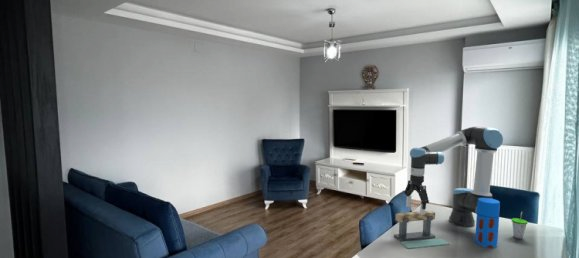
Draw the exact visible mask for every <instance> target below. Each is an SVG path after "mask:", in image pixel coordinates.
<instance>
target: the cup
mask: <svg viewBox="0 0 579 258" xmlns="http://www.w3.org/2000/svg"><path fill="white" fill-rule="evenodd" d="M522 216H523V211H521V212H520V217H519V218H516V217H513V218H511V222H512V234H513V238H515V239H519V240H522V239H524V235H525V231H526V228H527V225H528V221H527V220H525V219H522Z"/></svg>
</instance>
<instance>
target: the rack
mask: <svg viewBox="0 0 579 258" xmlns="http://www.w3.org/2000/svg"><path fill="white" fill-rule="evenodd" d="M432 221H434V219H433V216H427V220H422V231H416V232H407V229H408V227H407V226H408V224H409V223H410V221H409V218H403V222H398V223H399V224H398V225H399V226H398V233H394V234H393V236H394V238H396V239H397V240H398V241H399V240H400V241H399V242H410V241H420V240H430V239H436V235H435V234H433V233H432V232H431V227H432Z"/></svg>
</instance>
